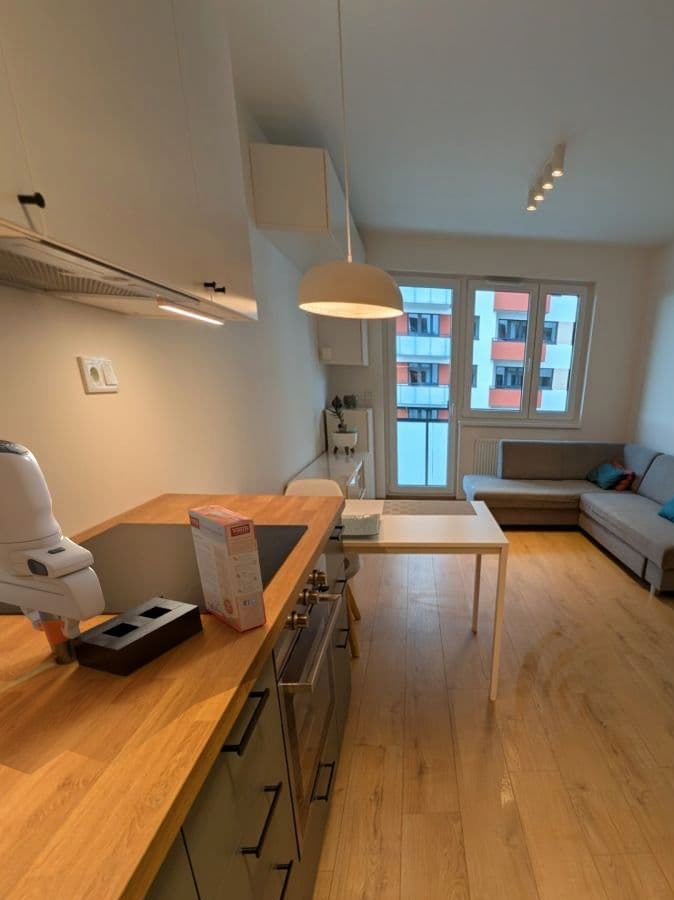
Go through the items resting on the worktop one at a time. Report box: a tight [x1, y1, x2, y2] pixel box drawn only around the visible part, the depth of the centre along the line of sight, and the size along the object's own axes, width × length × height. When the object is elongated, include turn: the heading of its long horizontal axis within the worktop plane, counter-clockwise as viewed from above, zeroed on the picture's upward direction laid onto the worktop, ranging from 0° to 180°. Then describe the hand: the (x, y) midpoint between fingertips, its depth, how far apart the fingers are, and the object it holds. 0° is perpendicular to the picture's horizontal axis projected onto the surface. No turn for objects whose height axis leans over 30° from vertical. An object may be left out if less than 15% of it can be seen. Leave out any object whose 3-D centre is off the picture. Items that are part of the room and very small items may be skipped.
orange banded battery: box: [38, 611, 77, 666], centre depth 81 cm, size 3×3×14 cm
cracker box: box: [187, 504, 268, 633], centre depth 95 cm, size 14×6×21 cm, turn 48°
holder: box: [70, 596, 204, 678], centre depth 88 cm, size 10×17×5 cm, turn 162°
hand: (57, 632), depth 82 cm, fingers open, 5 cm apart
